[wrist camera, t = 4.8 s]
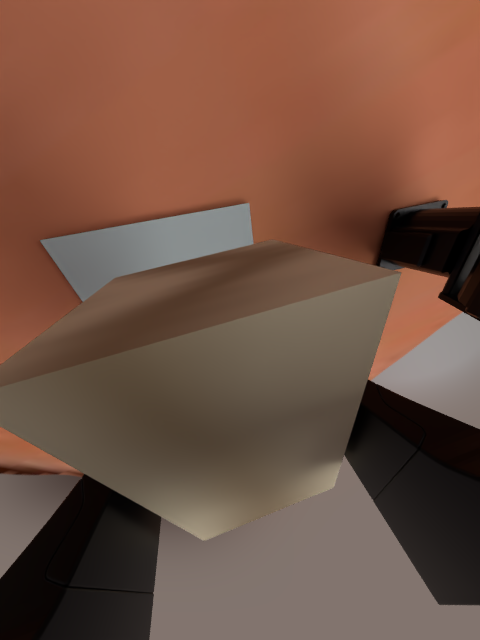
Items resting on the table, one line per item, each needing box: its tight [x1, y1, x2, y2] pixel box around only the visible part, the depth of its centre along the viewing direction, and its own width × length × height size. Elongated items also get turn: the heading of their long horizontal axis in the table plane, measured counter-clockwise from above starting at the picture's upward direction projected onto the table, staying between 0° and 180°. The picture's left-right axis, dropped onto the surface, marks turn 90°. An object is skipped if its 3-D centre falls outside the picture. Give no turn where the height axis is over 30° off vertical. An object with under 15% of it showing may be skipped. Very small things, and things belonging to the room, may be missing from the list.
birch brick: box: [0, 240, 401, 541], centre depth 7 cm, size 6×10×5 cm, turn 11°
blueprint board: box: [40, 203, 253, 302], centre depth 19 cm, size 16×20×1 cm
